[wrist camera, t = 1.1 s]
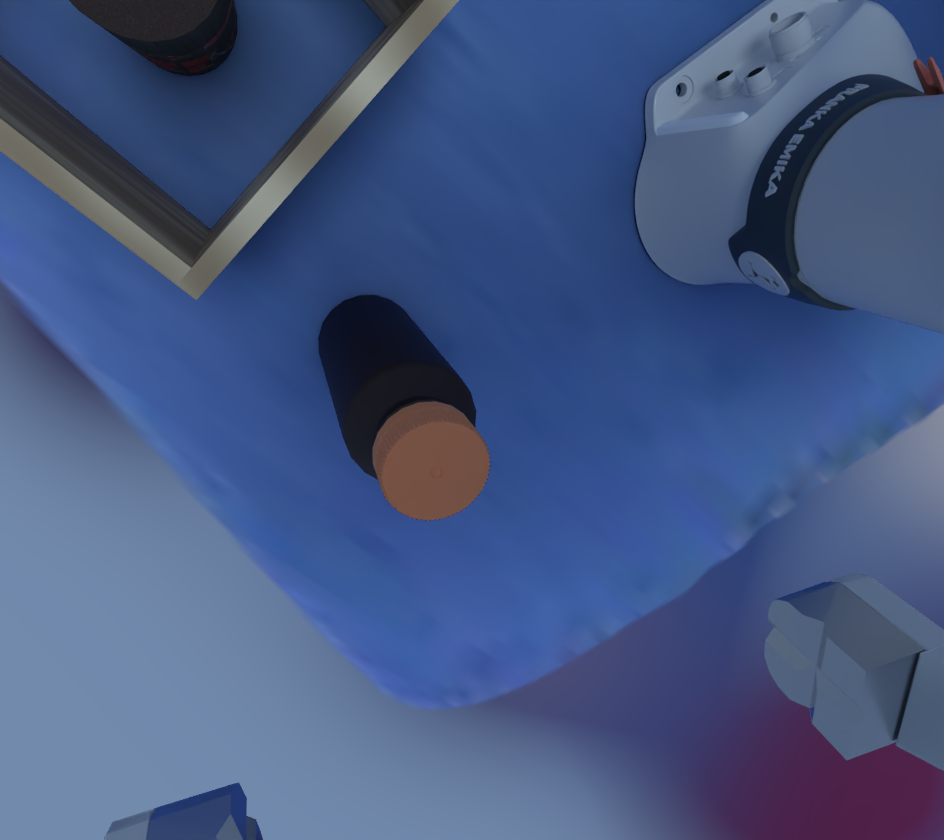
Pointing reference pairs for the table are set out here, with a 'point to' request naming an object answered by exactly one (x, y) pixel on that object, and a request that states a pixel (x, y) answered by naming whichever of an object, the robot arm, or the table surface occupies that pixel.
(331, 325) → the bottle
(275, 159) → the crate
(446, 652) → the table surface
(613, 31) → the table surface
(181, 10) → the deodorant
